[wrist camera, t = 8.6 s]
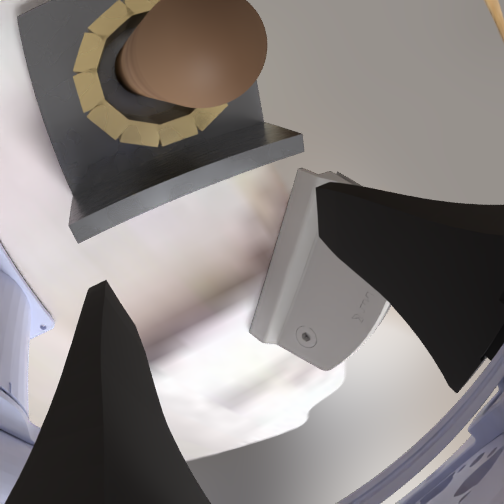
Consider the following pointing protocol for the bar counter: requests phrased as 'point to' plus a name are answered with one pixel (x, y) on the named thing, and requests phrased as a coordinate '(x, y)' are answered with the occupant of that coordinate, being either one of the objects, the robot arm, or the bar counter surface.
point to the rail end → (194, 52)
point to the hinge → (314, 288)
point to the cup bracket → (131, 119)
